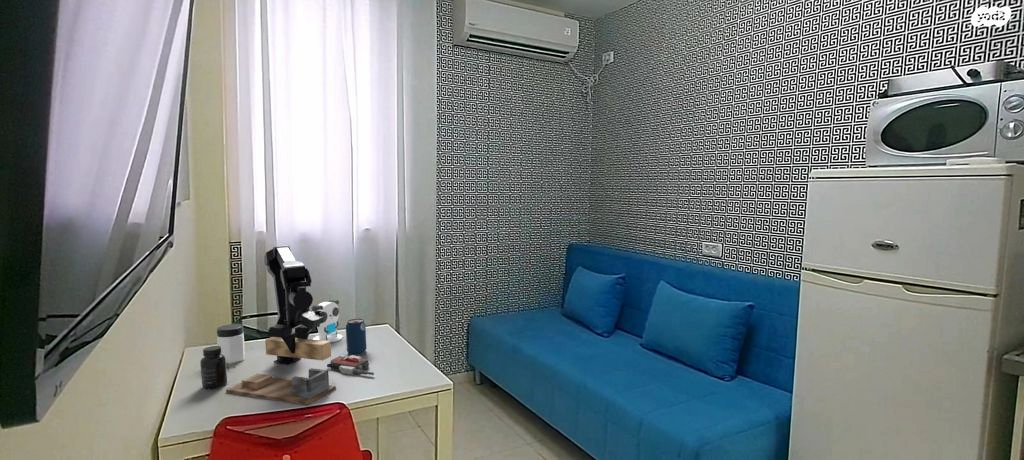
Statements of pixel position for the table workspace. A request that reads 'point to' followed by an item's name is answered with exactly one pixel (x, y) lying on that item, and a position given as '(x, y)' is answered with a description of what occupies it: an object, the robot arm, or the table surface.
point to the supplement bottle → (213, 368)
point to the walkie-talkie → (350, 365)
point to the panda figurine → (328, 321)
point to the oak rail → (299, 348)
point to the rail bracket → (286, 387)
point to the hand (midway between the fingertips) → (298, 351)
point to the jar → (231, 342)
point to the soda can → (356, 336)
